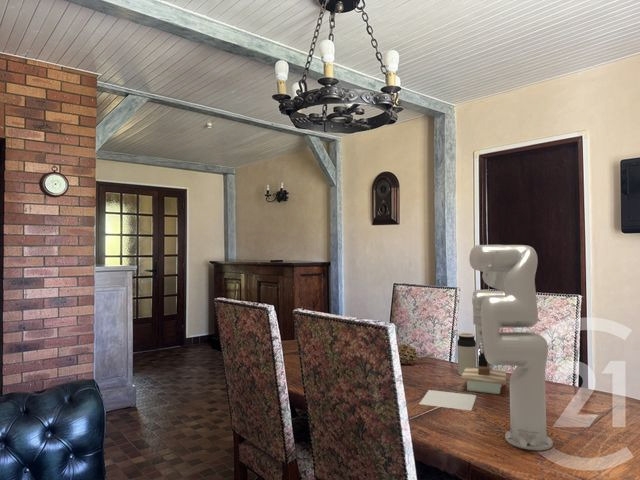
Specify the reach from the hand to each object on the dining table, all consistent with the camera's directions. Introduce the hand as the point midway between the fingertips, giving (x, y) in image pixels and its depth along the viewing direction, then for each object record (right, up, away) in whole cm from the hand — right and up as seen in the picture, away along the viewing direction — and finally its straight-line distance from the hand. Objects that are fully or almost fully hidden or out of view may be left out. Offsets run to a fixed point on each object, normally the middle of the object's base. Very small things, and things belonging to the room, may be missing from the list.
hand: (484, 363), depth 184 cm
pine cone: (-20, -12, +42) cm, 48 cm away
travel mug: (0, -11, +22) cm, 24 cm away
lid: (0, -5, 0) cm, 5 cm away
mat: (-18, -10, -14) cm, 25 cm away
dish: (0, -10, 0) cm, 10 cm away
